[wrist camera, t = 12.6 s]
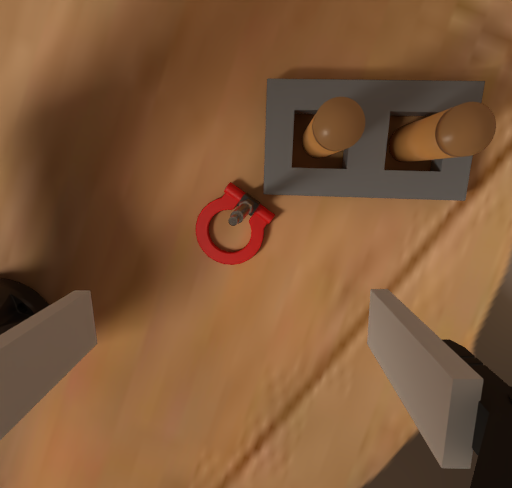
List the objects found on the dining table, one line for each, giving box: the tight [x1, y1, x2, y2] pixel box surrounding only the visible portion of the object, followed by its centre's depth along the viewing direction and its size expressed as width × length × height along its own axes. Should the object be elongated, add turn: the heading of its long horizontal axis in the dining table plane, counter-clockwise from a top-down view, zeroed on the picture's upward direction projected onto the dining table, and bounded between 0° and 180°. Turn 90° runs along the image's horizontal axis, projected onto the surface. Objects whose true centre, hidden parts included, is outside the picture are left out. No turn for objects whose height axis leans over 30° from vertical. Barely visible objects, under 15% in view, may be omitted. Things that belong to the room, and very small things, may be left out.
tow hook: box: [196, 182, 275, 265], centre depth 34 cm, size 8×13×9 cm
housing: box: [264, 79, 485, 201], centre depth 35 cm, size 22×12×2 cm, turn 89°
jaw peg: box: [302, 97, 365, 158], centre depth 31 cm, size 4×4×12 cm
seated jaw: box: [389, 102, 496, 162], centre depth 31 cm, size 4×4×12 cm
